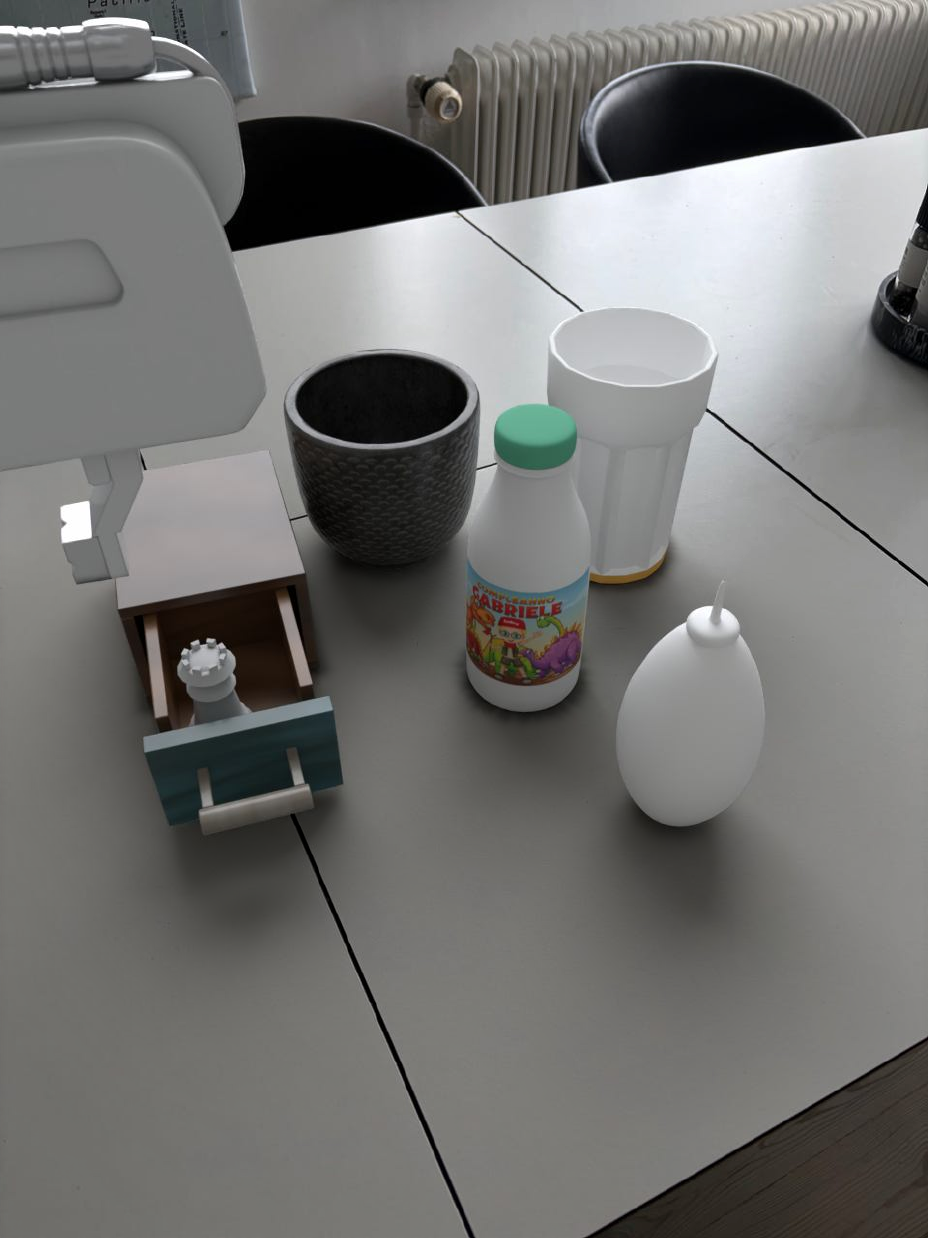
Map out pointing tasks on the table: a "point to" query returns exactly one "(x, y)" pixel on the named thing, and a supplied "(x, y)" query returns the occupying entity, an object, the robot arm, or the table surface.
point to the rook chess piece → (210, 682)
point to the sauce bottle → (692, 720)
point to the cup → (630, 425)
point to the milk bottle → (528, 565)
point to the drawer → (239, 717)
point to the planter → (384, 453)
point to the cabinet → (209, 545)
